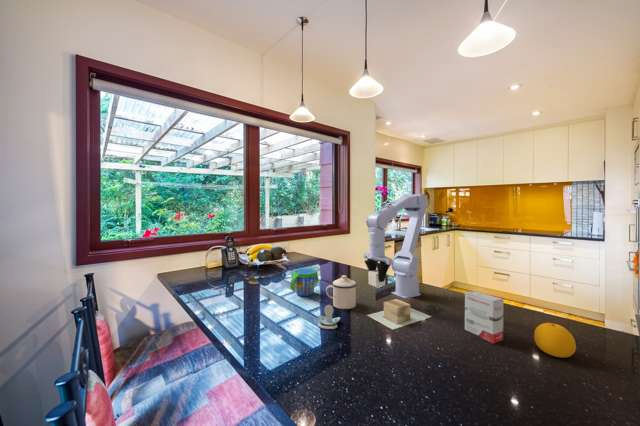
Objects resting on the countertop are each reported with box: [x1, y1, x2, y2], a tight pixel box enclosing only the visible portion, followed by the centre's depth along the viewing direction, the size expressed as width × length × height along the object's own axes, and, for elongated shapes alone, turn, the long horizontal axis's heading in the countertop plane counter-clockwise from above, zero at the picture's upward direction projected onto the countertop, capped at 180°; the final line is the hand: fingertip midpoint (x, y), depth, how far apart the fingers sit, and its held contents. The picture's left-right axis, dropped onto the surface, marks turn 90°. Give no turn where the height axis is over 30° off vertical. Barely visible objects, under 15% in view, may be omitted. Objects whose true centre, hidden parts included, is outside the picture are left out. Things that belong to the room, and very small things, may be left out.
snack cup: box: [289, 267, 319, 297], centre depth 112 cm, size 16×10×10 cm
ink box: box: [464, 290, 504, 344], centre depth 74 cm, size 8×5×12 cm, turn 26°
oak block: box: [383, 298, 411, 324], centre depth 85 cm, size 6×6×5 cm
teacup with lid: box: [325, 275, 357, 310], centre depth 98 cm, size 12×9×12 cm
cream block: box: [367, 269, 386, 288], centre depth 99 cm, size 4×4×5 cm
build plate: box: [366, 307, 432, 330], centre depth 87 cm, size 18×12×1 cm, turn 119°
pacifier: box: [317, 304, 341, 330], centre depth 82 cm, size 7×6×6 cm
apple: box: [533, 322, 577, 359], centre depth 65 cm, size 8×8×8 cm
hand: (377, 279), depth 99 cm, fingers closed on cream block, 4 cm apart
